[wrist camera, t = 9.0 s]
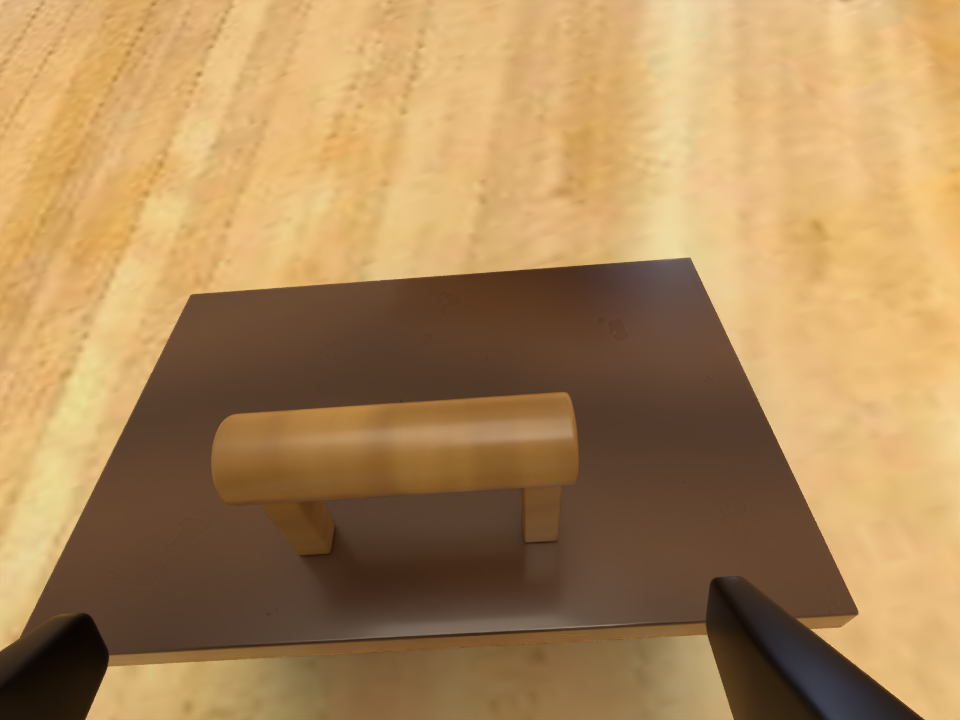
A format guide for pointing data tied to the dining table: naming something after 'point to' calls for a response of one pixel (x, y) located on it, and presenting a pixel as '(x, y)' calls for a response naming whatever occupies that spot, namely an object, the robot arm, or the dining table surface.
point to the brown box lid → (440, 473)
